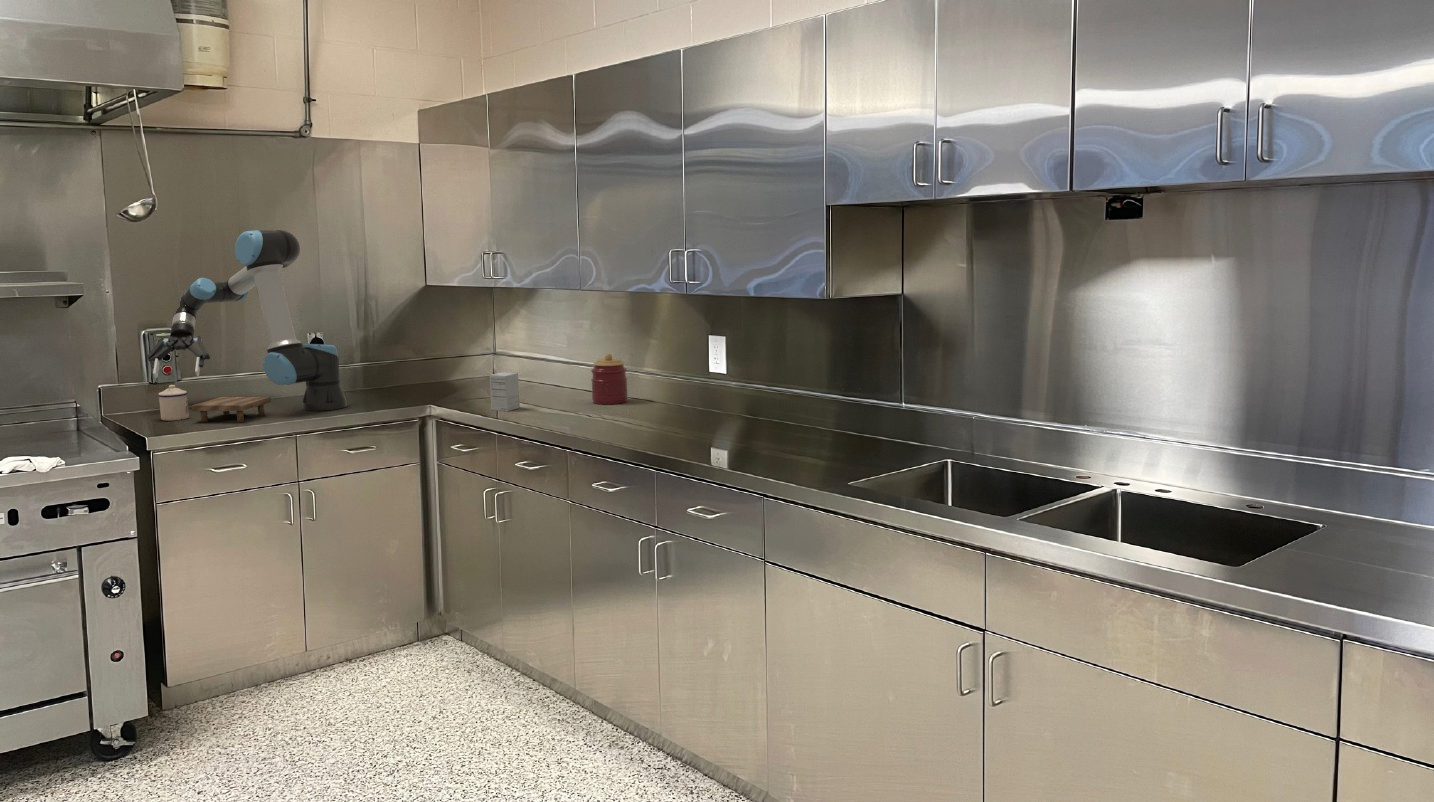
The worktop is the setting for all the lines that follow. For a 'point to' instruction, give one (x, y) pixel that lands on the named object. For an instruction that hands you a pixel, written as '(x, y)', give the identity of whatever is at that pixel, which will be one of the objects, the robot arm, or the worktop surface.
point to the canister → (609, 381)
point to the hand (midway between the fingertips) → (176, 374)
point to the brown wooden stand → (231, 406)
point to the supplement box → (504, 391)
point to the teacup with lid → (173, 404)
